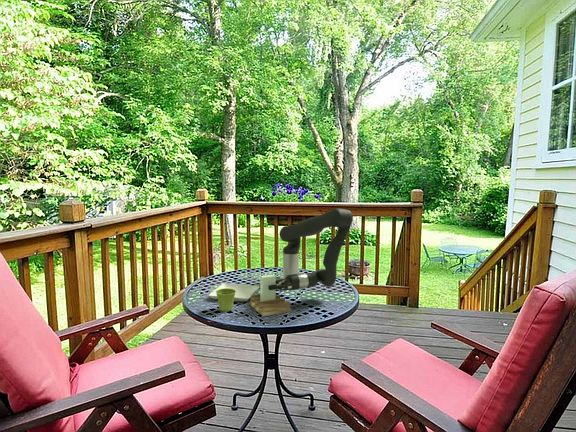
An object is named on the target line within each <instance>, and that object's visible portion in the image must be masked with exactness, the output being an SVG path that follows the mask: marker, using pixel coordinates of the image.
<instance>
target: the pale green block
mask: <svg viewBox="0 0 576 432" xmlns="http://www.w3.org/2000/svg"><path fill="white" fill-rule="evenodd" d="M276 278H277V277H276V275H274V274H268V275H260V277H259V282H260V285H259V286H260V287H259V289H260V292H259V294H260V302H261V301H268V300H275V292H276V290H268V286H269V285H275V284H277V283H276Z"/></svg>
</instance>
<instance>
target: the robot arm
mask: <svg viewBox="0 0 576 432" xmlns="http://www.w3.org/2000/svg"><path fill="white" fill-rule="evenodd" d="M353 217H354V215H353V213H352V211H351V210H349V209H345V208H336V207H335V208H333V209H330V210H328V211H326V212H324V213H323V214H319V215H316V216H312V217H309V218H306V219H304V220H302V221H299V222H297V223H295V224H291V225H285V226H283V227H281V228H280V230H279V238H280V240H281V241H282V242H285V243H287V242H288V244H287V245H285V246H284V247H283V249H282V278H281V277H280V276H278V277H276V284H275V285H269V286H268V290H275V291H279V292H283V291H296V290H297V291H298V290H302V289H307V288H313V287H316V286H317V285H318V284H319V283H320V284H321V285H323V286H325V287H326V288H331V287H333V286H334V285H335V283H336V280H337V264H338V261H339V257H340V254H341V251H342V248H343V245H344V242H345V240H346V237H347V235H348V233H349V231H350V229H351V227H352V223H353V222H354V221H353V220H354V218H353ZM327 228H337V232H336V234H335V236H334V237H333V239H332V240H331V241H330V243H329V244H328V245H327V247H326V249H325V252H324V255H323V260H322V265H323V266H324V268H320V269H317V270H315V271H312V272H306V273H305V272H304V273H301V272H299V270H300V269H299V268H300V267H299V265H300V264H299V263H300V260H299V259H300V255H299V254H300V249H301V238H306V237H311V236H316V235H318V234H320V233H322V232H323V230H324V229H327Z"/></svg>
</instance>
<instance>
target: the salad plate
mask: <svg viewBox="0 0 576 432" xmlns="http://www.w3.org/2000/svg"><path fill="white" fill-rule="evenodd" d="M224 288H230V289H234V290H236V293H235V296H234V302H247V301H249V300H251V295H255V293H256V292H257V291H258V290H259V289H260V285H254V284H245V283H243V284H241V283H228V282H223V283H221V284H220V285H219V286H217V288H216V289H214V290H213V291H212V292H210V293H209V294H208V297H209V298H211V299H213V300H218V296H217V294H216V291H217V290H219V289H224Z"/></svg>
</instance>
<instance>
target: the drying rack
mask: <svg viewBox="0 0 576 432" xmlns="http://www.w3.org/2000/svg"><path fill="white" fill-rule="evenodd" d="M281 296H282V295H280V294H277V291H275V300H268V301H261V302H260V293H257V294H253V295H251V297H250V301H249V305H250V306H251V307H252V308H253V309H254V310H256V312H258V313H259V314H260V315H261V316H262V317H267V316H273V315H279V314H284V313H290V312H292V308H291V301H286V298H285V297H282V298H281Z"/></svg>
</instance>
